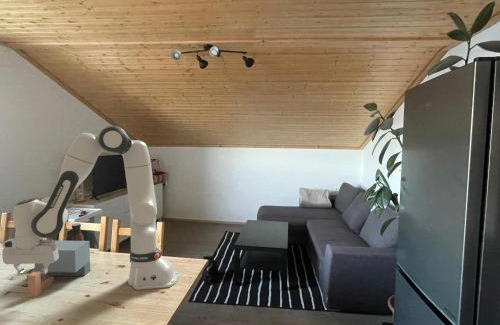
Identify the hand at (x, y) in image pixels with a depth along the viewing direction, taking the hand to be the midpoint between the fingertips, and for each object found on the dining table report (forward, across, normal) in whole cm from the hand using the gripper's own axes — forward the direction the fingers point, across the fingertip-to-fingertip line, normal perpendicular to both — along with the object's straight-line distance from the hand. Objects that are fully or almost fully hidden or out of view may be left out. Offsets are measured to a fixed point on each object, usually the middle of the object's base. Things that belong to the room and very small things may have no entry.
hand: (32, 273), depth 120 cm
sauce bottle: (+11, +2, -35) cm, 36 cm away
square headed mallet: (+10, +1, -6) cm, 12 cm away
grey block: (+10, -1, -18) cm, 20 cm away
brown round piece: (+10, +12, -15) cm, 22 cm away
